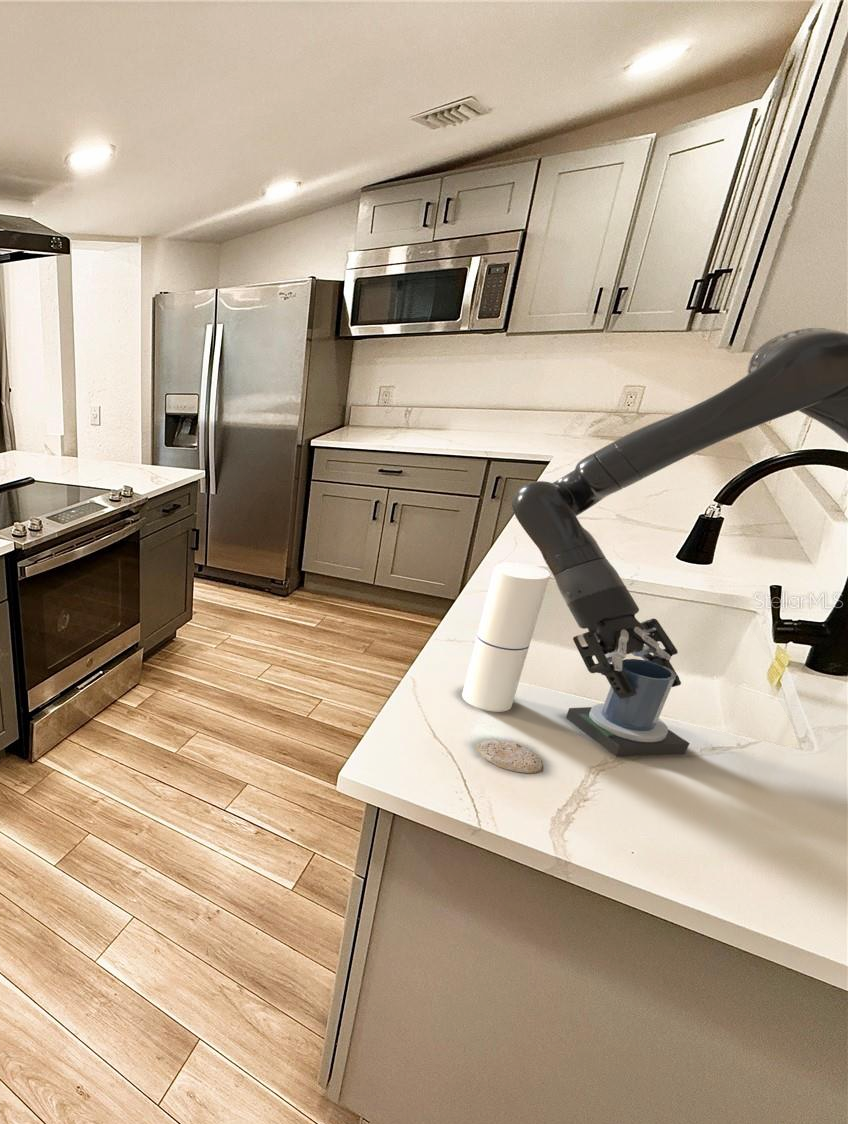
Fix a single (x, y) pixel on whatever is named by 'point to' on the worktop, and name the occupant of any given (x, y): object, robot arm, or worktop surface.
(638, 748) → the scale
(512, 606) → the cylindrical container
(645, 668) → the tumbler
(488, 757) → the flatbread
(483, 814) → the worktop surface
